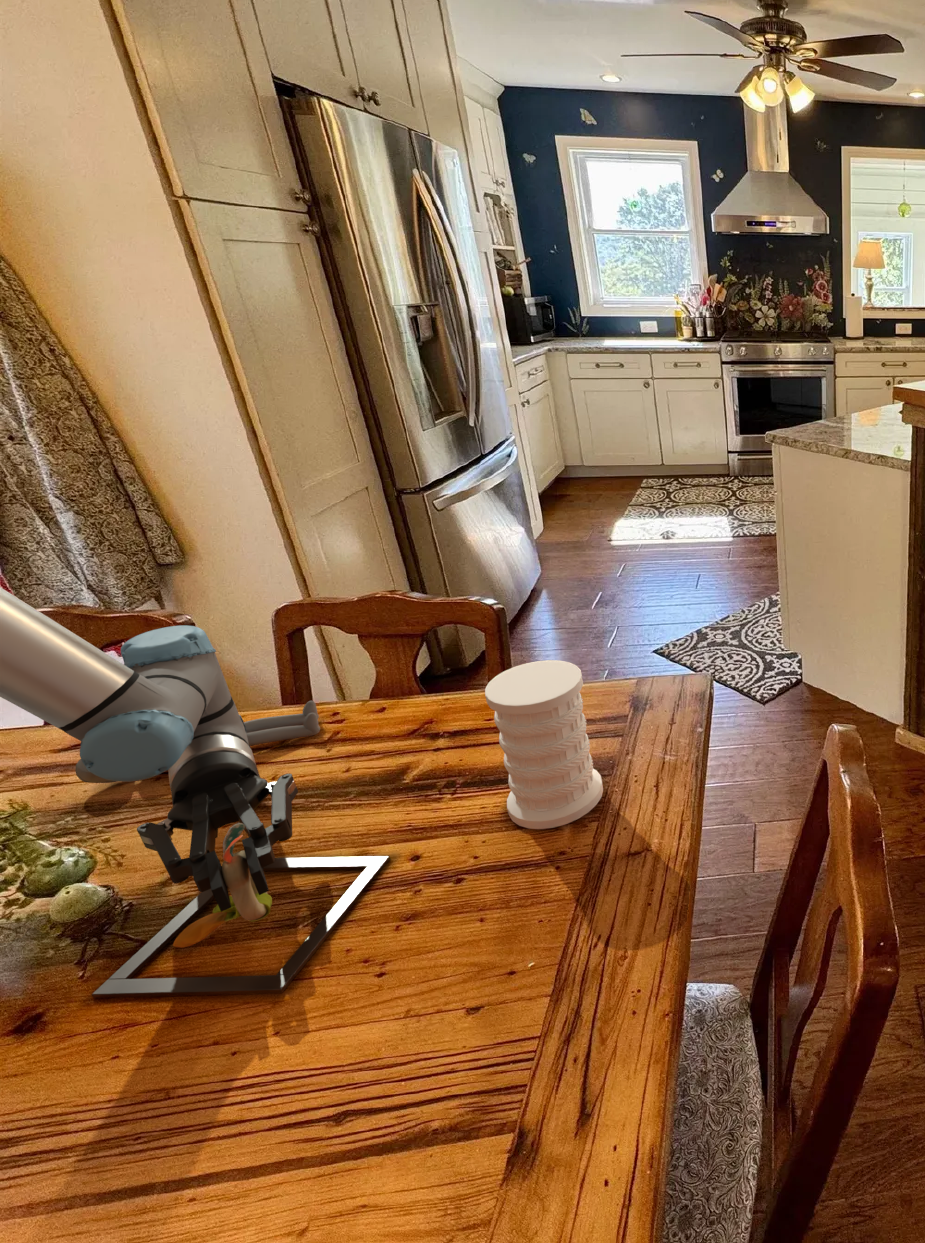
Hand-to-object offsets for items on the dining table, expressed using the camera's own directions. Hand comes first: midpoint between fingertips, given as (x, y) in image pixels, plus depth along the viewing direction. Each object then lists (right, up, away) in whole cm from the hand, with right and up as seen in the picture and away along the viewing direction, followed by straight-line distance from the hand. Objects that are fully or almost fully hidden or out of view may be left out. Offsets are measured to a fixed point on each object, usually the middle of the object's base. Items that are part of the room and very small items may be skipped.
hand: (240, 890), depth 69 cm
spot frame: (-4, -6, +7) cm, 10 cm away
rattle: (-7, -5, +7) cm, 11 cm away
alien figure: (-34, +5, +32) cm, 47 cm away
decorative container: (+19, +1, +26) cm, 32 cm away
